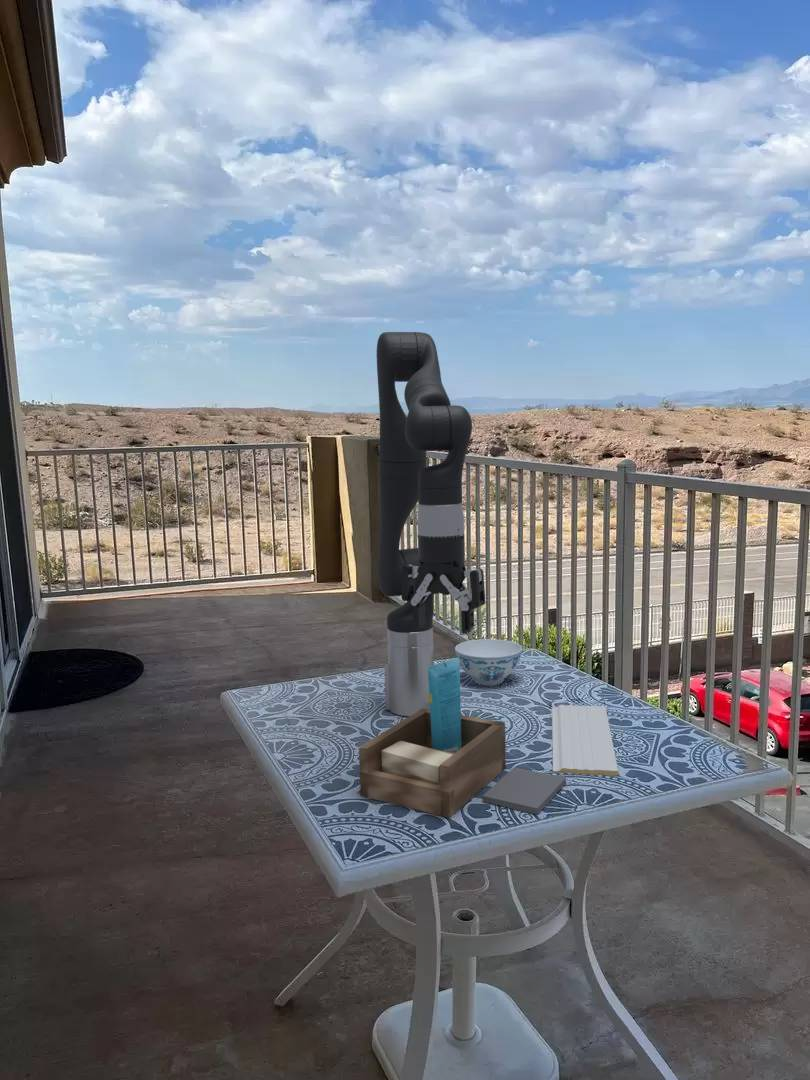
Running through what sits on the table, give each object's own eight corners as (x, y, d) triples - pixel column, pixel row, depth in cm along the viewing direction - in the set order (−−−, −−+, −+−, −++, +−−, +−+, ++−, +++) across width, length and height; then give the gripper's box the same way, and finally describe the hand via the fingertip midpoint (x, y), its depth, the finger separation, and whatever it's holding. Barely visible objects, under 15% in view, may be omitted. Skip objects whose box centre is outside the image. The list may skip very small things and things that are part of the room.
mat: (482, 801, 127) (482, 795, 127) (514, 772, 137) (514, 767, 137) (537, 814, 122) (537, 808, 122) (565, 783, 133) (565, 777, 132)
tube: (449, 762, 142) (446, 654, 140) (471, 769, 139) (469, 659, 136) (421, 777, 137) (418, 664, 134) (445, 784, 133) (442, 670, 131)
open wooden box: (360, 795, 130) (358, 747, 129) (423, 751, 147) (422, 708, 146) (449, 818, 122) (448, 766, 121) (505, 768, 139) (505, 722, 138)
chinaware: (529, 674, 191) (528, 641, 190) (513, 694, 177) (513, 659, 176) (466, 668, 196) (466, 637, 195) (447, 687, 182) (446, 654, 181)
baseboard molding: (544, 775, 137) (618, 779, 135) (544, 759, 137) (618, 763, 135) (544, 711, 167) (605, 713, 165) (544, 697, 167) (605, 699, 165)
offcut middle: (382, 780, 131) (381, 765, 131) (400, 769, 135) (399, 755, 135) (440, 796, 125) (440, 781, 125) (457, 784, 129) (457, 769, 129)
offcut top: (382, 765, 131) (381, 750, 131) (401, 755, 135) (400, 740, 134) (438, 782, 124) (438, 766, 124) (457, 770, 128) (456, 755, 128)
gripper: (391, 532, 133) (394, 630, 135) (470, 536, 126) (472, 639, 128) (414, 527, 139) (417, 620, 141) (491, 530, 132) (492, 629, 134)
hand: (443, 629), depth 135 cm, fingers open, 8 cm apart
